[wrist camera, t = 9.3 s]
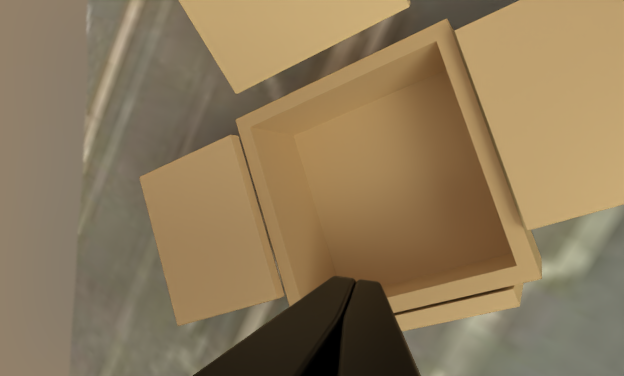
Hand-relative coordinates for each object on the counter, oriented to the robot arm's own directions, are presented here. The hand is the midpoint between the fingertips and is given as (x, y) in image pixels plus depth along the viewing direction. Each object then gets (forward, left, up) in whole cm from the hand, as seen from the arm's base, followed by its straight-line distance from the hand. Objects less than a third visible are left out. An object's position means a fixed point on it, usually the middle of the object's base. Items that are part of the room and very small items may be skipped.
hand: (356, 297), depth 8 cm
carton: (+1, +2, -11) cm, 11 cm away
